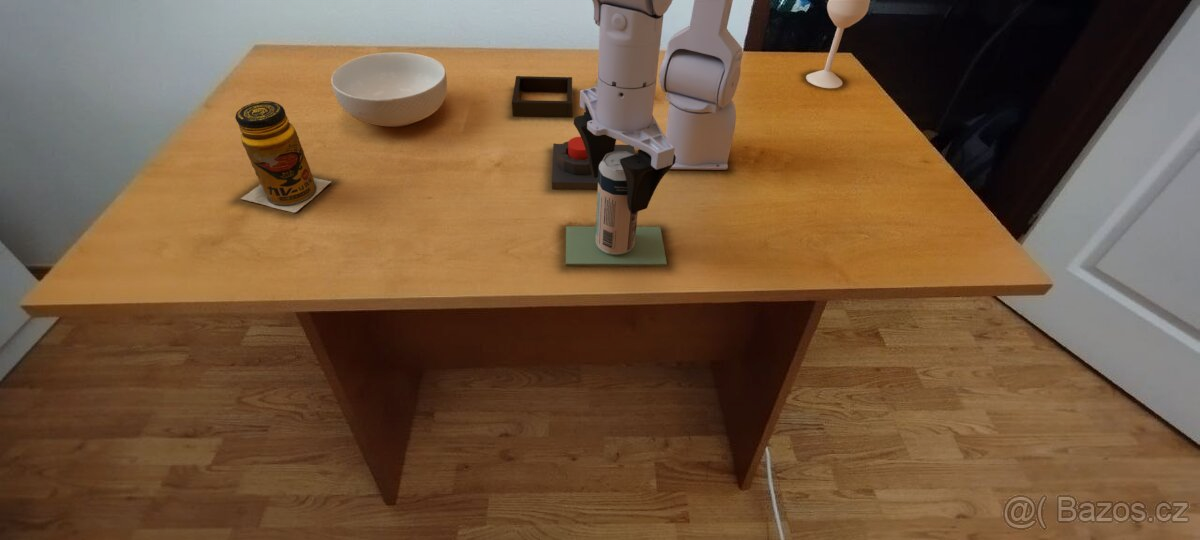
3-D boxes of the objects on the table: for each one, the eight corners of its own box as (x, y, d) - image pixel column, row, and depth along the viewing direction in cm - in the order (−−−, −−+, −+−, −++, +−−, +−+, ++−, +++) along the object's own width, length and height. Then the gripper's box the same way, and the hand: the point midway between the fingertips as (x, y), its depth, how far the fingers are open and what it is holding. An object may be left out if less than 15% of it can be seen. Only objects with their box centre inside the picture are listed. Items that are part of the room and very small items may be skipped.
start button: (593, 147, 83) (593, 136, 81) (593, 161, 80) (594, 150, 79) (568, 147, 82) (568, 136, 81) (568, 160, 80) (567, 149, 79)
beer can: (640, 253, 69) (649, 168, 61) (602, 260, 68) (607, 175, 60) (626, 229, 73) (633, 145, 65) (590, 235, 71) (593, 151, 63)
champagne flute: (847, 89, 106) (898, -58, 89) (810, 87, 105) (855, -60, 89) (836, 73, 110) (883, -69, 94) (801, 71, 110) (842, -71, 94)
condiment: (296, 213, 73) (261, 129, 65) (240, 200, 75) (200, 115, 67) (332, 182, 78) (304, 100, 70) (279, 170, 80) (246, 89, 72)
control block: (633, 151, 87) (634, 133, 85) (638, 190, 80) (640, 171, 78) (553, 150, 86) (553, 132, 84) (551, 189, 79) (551, 170, 77)
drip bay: (572, 90, 101) (572, 76, 99) (572, 117, 94) (572, 103, 92) (516, 89, 100) (516, 75, 99) (512, 116, 93) (511, 102, 92)
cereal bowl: (415, 151, 85) (405, 107, 80) (319, 130, 88) (305, 86, 83) (470, 101, 97) (465, 60, 92) (384, 84, 100) (375, 43, 95)
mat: (660, 229, 74) (660, 226, 73) (666, 266, 69) (667, 263, 68) (566, 228, 73) (566, 226, 73) (565, 266, 68) (565, 263, 68)
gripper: (554, 55, 59) (556, 169, 68) (635, 117, 50) (625, 238, 59) (612, 43, 61) (607, 153, 71) (699, 99, 53) (679, 217, 62)
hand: (618, 191), depth 65 cm, fingers open, 7 cm apart
